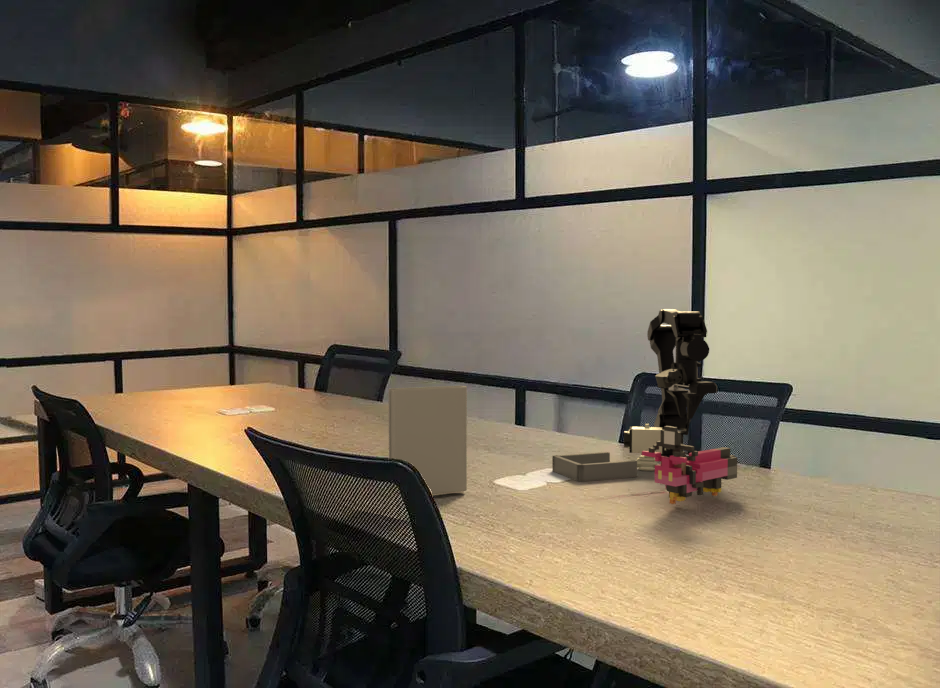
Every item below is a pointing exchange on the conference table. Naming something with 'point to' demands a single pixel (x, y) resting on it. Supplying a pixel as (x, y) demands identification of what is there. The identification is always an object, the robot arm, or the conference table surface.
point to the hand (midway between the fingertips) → (685, 417)
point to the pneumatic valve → (643, 444)
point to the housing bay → (593, 467)
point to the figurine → (690, 467)
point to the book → (431, 434)
